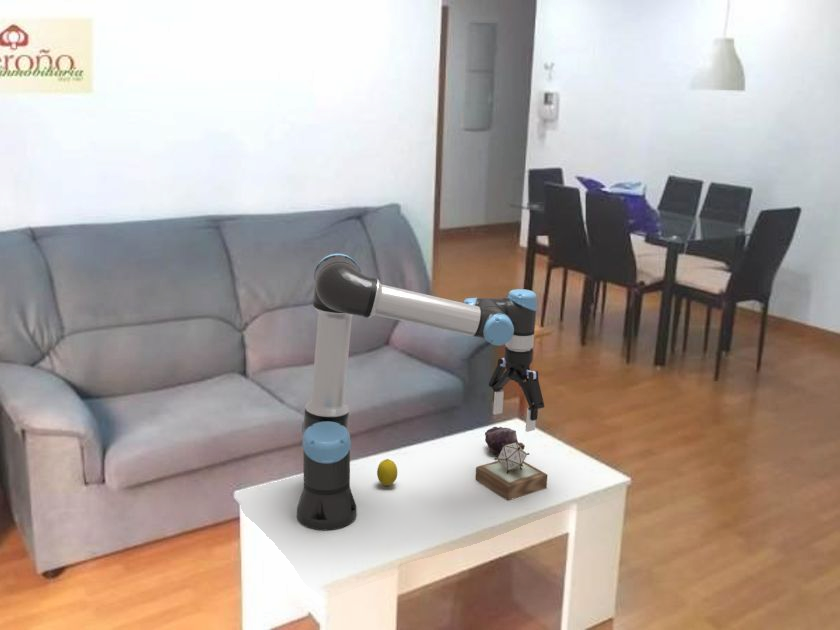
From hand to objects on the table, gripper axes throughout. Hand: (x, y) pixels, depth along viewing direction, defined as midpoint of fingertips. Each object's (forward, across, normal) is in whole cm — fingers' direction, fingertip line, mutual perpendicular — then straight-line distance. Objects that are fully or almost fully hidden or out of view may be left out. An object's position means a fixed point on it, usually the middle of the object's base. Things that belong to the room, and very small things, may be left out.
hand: (513, 421), depth 235 cm
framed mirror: (+19, 0, 0) cm, 19 cm away
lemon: (+19, +17, +30) cm, 39 cm away
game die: (+14, 0, 0) cm, 15 cm away
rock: (+19, +17, -11) cm, 27 cm away
